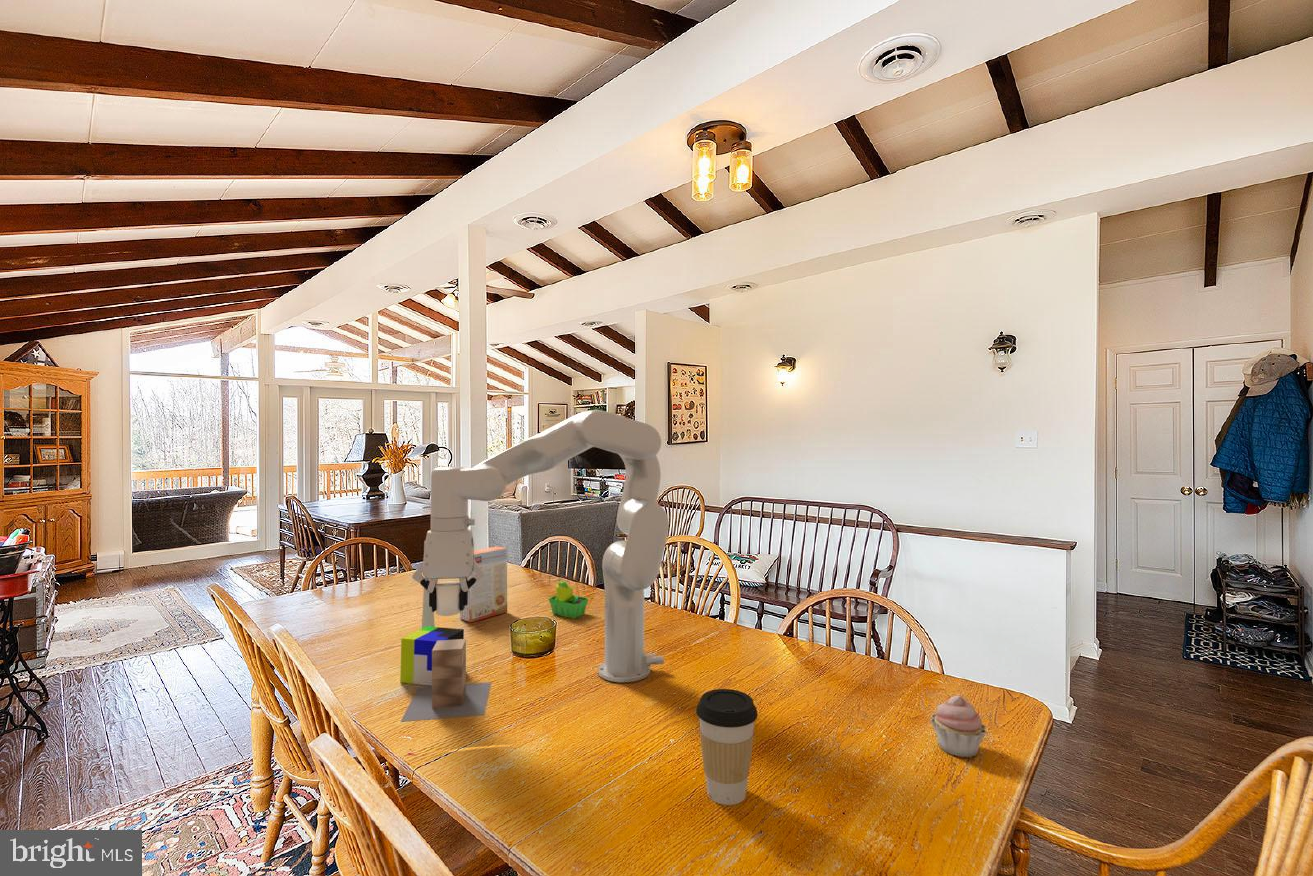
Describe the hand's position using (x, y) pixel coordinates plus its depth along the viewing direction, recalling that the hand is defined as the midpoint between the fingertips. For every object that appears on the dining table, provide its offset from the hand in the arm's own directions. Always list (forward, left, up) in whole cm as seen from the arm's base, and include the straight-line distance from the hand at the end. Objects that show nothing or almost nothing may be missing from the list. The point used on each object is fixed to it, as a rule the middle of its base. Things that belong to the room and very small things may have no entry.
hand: (448, 608), depth 125 cm
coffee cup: (-49, +41, -20) cm, 67 cm away
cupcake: (-95, +36, -20) cm, 104 cm away
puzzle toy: (+6, -14, -20) cm, 25 cm away
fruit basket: (-27, -57, -21) cm, 66 cm away
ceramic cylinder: (0, 0, -1) cm, 1 cm away
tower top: (0, 0, -14) cm, 14 cm away
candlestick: (+10, -30, -20) cm, 38 cm away
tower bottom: (0, 0, -20) cm, 20 cm away
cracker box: (-1, -60, -20) cm, 63 cm away
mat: (0, 0, -20) cm, 20 cm away
